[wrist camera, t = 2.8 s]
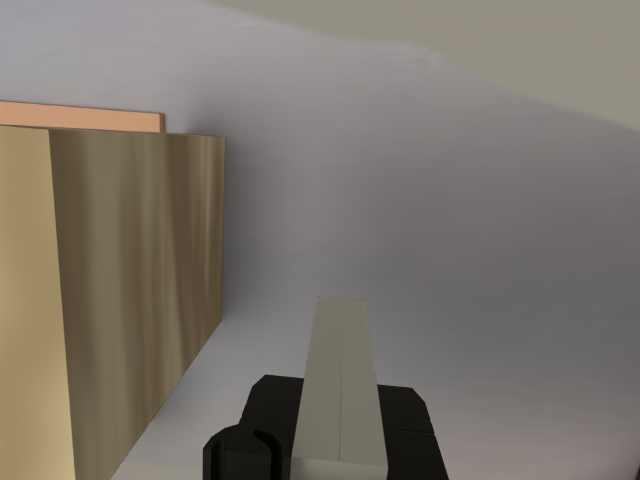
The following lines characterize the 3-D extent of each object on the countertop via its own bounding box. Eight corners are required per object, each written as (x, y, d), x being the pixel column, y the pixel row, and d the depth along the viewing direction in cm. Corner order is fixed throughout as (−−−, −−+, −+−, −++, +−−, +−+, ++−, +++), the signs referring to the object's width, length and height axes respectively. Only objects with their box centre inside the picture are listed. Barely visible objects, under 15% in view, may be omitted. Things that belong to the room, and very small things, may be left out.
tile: (225, 137, 24) (48, 129, 10) (221, 320, 27) (78, 524, 13) (184, 133, 25) (-50, 121, 10) (184, 317, 27) (2, 515, 13)
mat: (163, 114, 24) (159, 114, 24) (166, 329, 28) (162, 333, 27) (-123, 91, 25) (-134, 90, 25) (-87, 303, 28) (-96, 306, 28)
